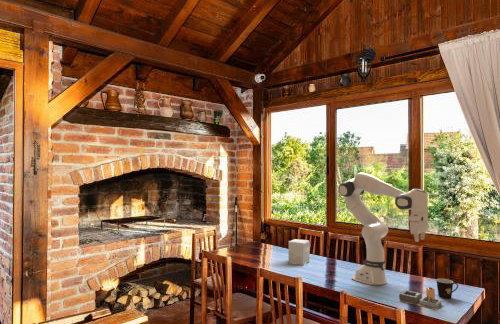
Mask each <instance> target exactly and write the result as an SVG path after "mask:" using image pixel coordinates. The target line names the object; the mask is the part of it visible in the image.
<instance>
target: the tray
mask: <svg viewBox="0 0 500 324" xmlns="http://www.w3.org/2000/svg"><path fill="white" fill-rule="evenodd" d="M419 301H420V305H422V306H426V307H430V308H434V309H433V310H435V309H437V308H438V309H439V308H440V307H441V306H442V305H441V304H442V299H437V298H435V303H431V302H427V296H423V297H422V299H421V300H419ZM422 306H421V307H422ZM426 307H425V308H426ZM430 308H429V309H430ZM438 309H437V310H438Z"/></svg>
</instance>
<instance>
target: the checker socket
mask: <svg viewBox="0 0 500 324" xmlns="http://www.w3.org/2000/svg"><path fill="white" fill-rule="evenodd" d="M398 294H399V295H398V297H399V299H398V300H401V301H400V302H402V301H405V302H404V303H406V302H409V303H408V304H410V303H413V304H412V305H414V304H417V303H418V302H420V301H419V300H421V299H422V298H423V297H422V295H423V294H422V293H421V292H416V291H411V290H407V289H405V290H403V291H402V292H400V293H398ZM407 294H408V295H407ZM411 295H412V296H411Z"/></svg>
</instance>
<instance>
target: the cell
mask: <svg viewBox="0 0 500 324" xmlns="http://www.w3.org/2000/svg"><path fill="white" fill-rule="evenodd" d="M435 292H436V291H435V288H434V287H430V286H429V287H426V297H427V302H431V303H435V299H436V296H435Z"/></svg>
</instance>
